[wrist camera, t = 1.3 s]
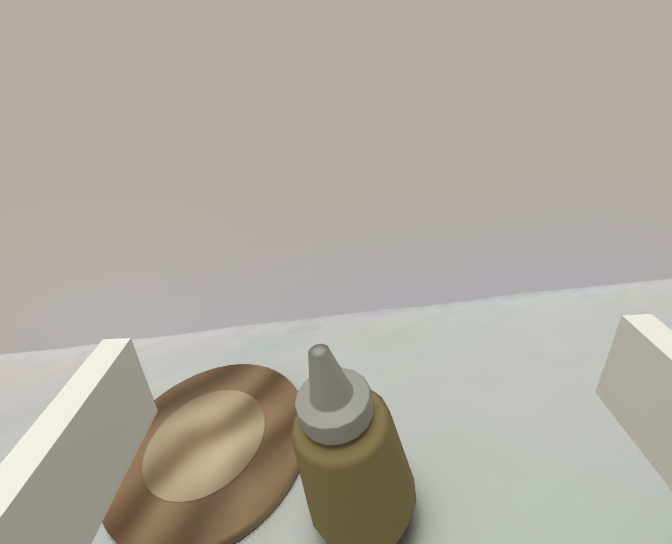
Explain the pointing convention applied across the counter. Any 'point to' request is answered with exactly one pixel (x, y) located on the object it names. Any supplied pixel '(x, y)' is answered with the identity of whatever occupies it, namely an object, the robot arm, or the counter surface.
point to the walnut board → (210, 460)
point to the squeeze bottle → (350, 457)
